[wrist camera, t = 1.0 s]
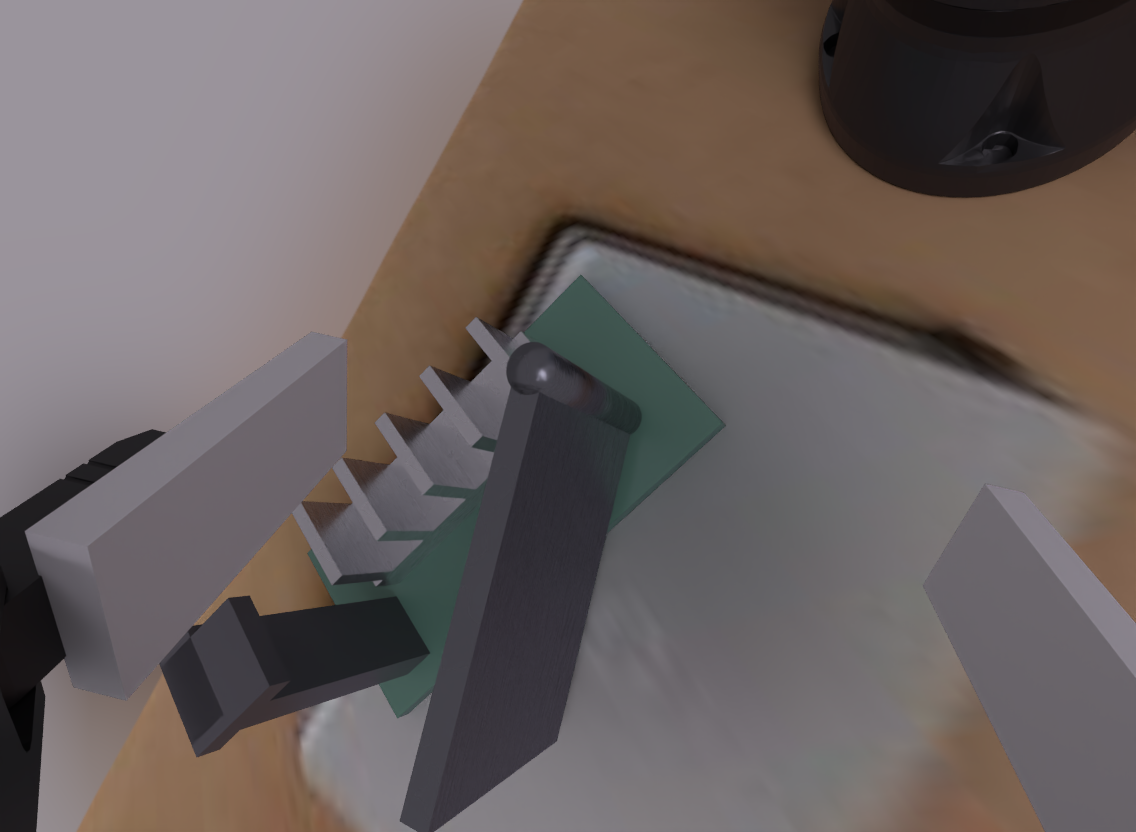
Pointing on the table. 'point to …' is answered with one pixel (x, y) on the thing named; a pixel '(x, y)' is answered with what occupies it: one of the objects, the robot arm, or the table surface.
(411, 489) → the heat sink
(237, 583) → the table surface
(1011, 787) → the table surface
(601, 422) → the dark grey rectangular panel
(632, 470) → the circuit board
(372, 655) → the dark grey capped post
